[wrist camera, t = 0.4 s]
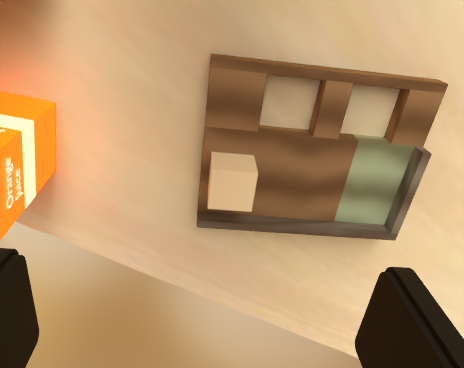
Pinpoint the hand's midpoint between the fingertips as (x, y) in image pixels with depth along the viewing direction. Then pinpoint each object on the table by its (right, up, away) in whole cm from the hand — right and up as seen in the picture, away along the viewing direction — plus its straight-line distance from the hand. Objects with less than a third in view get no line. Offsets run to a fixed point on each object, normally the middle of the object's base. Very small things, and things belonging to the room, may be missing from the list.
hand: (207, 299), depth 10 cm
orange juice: (-24, +9, +33) cm, 42 cm away
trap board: (+10, +7, +36) cm, 38 cm away
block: (0, +5, +35) cm, 35 cm away
